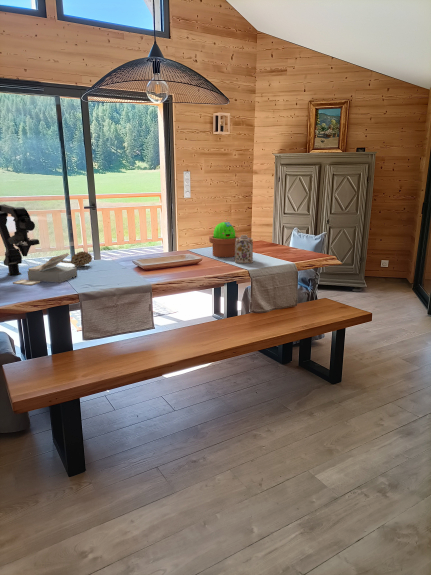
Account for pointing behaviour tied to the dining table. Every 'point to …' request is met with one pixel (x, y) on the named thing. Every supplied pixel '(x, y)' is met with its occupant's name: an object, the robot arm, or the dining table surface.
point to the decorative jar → (243, 249)
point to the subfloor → (52, 273)
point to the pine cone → (80, 259)
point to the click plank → (53, 261)
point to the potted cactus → (223, 240)
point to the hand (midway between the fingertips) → (24, 256)
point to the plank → (26, 282)
